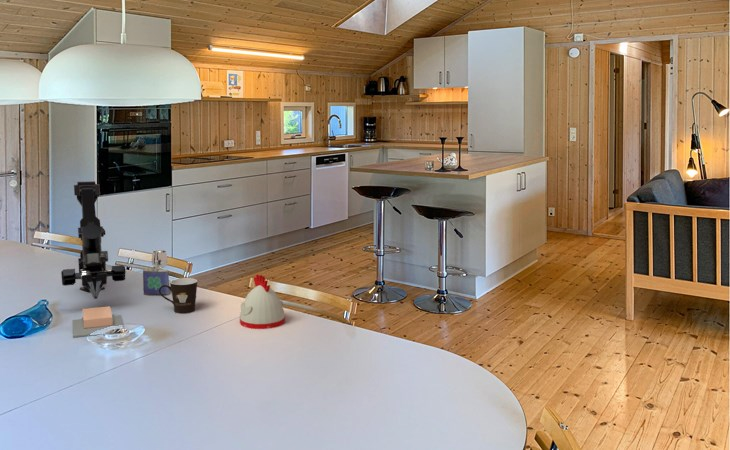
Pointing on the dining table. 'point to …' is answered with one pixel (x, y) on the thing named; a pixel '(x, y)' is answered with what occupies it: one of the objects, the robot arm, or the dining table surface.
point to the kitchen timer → (261, 307)
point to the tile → (97, 317)
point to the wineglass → (159, 259)
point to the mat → (82, 332)
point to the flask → (155, 281)
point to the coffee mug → (182, 294)
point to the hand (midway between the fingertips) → (95, 298)
